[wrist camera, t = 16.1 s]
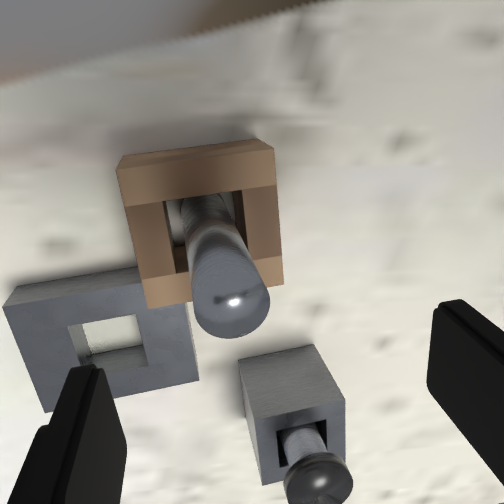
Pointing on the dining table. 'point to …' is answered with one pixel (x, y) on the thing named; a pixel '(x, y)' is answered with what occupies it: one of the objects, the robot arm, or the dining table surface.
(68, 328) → the socket plate
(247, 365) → the housing
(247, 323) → the grey round-topped peg
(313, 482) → the dark grey knobbed peg
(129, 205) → the block
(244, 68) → the dining table surface
